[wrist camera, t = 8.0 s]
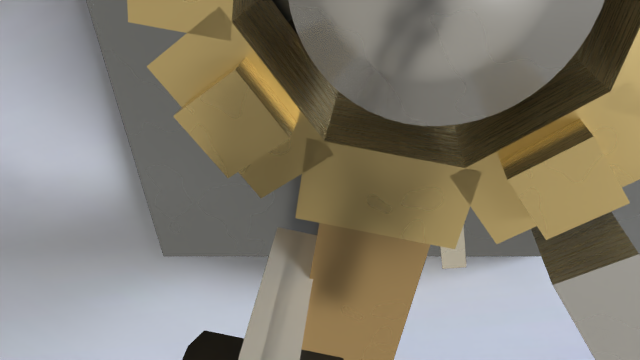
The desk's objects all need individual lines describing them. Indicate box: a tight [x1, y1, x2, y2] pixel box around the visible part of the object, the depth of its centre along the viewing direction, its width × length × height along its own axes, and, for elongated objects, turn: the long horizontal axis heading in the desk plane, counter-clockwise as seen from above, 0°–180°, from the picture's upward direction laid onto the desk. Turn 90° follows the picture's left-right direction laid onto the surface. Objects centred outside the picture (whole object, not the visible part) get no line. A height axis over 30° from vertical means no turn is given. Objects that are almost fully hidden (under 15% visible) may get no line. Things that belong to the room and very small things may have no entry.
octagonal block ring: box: [127, 0, 640, 360], centre depth 11 cm, size 16×11×4 cm
